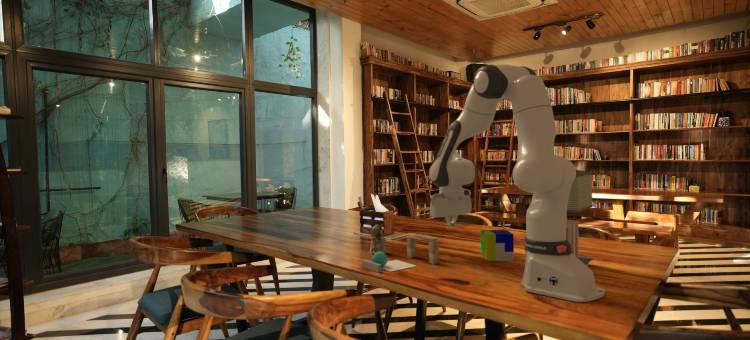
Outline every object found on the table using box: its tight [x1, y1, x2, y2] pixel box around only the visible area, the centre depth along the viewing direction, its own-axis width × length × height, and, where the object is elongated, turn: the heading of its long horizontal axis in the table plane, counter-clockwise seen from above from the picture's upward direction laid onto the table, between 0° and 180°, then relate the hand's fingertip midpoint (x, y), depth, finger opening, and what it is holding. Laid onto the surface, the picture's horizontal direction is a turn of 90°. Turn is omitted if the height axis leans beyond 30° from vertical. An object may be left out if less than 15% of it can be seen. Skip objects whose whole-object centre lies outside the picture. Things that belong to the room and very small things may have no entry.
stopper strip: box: [361, 258, 382, 273], centre depth 148 cm, size 10×2×2 cm, turn 35°
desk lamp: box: [566, 172, 594, 267], centre depth 147 cm, size 18×14×33 cm
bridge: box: [406, 232, 440, 265], centre depth 161 cm, size 3×15×9 cm, turn 35°
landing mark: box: [381, 259, 417, 273], centre depth 153 cm, size 12×12×1 cm
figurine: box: [369, 223, 388, 255], centre depth 174 cm, size 7×7×12 cm
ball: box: [371, 251, 389, 267], centre depth 151 cm, size 6×6×6 cm
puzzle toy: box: [480, 229, 515, 262], centre depth 163 cm, size 10×10×10 cm
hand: (451, 226), depth 169 cm, fingers closed
